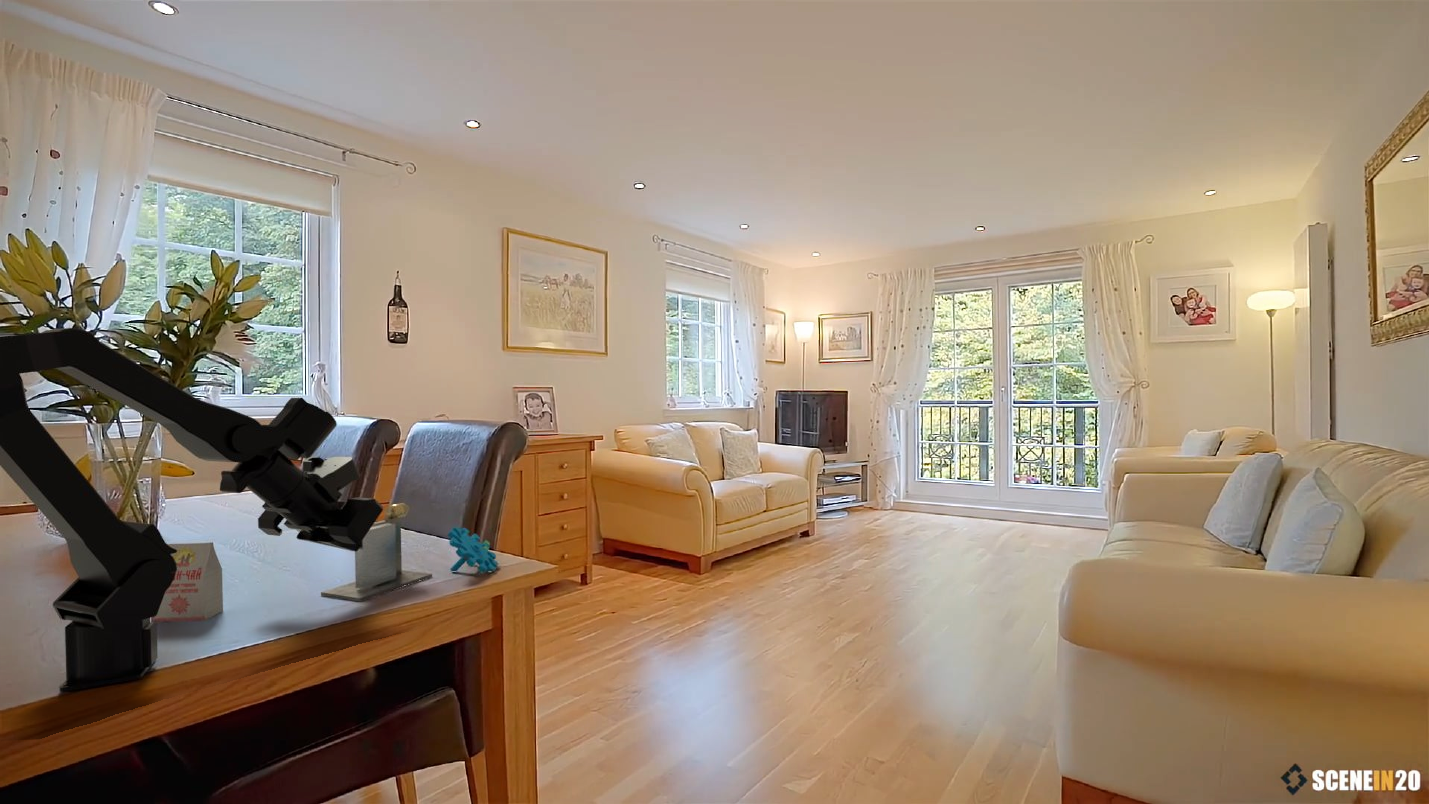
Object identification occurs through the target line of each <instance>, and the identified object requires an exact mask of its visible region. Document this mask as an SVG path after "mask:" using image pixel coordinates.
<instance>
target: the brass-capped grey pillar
mask: <svg viewBox="0 0 1429 804" xmlns="http://www.w3.org/2000/svg"><path fill="white" fill-rule="evenodd" d="M359 543H360V545H361V546H360V548H359V549H358V551H356V552H355V551H354V563H355V565H354V566H355V569H354V570H355V571H354V572H355V574H354V576H355V582H356V588H361V589H365V588H368V587H371V586H374V585H377V584H380V583H383V582H386V581H389V580H392V579H395V578H396V536H395V524H391V523H387V524H382V525H378V526H373V527H371V528H370V530H369V531H368V533H367V534H366V536H365V537H364V538H363V540H362V541H361V542H359Z"/></svg>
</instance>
